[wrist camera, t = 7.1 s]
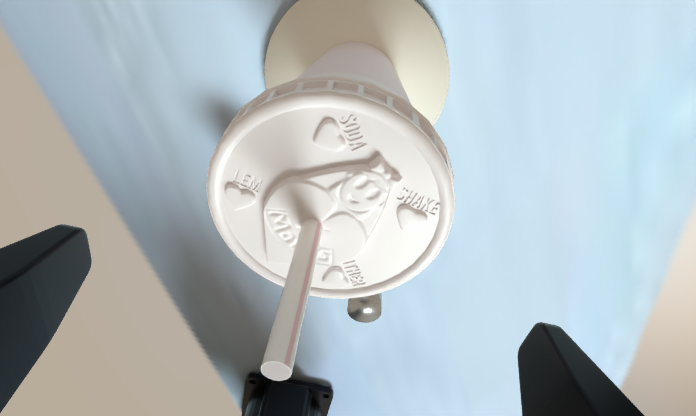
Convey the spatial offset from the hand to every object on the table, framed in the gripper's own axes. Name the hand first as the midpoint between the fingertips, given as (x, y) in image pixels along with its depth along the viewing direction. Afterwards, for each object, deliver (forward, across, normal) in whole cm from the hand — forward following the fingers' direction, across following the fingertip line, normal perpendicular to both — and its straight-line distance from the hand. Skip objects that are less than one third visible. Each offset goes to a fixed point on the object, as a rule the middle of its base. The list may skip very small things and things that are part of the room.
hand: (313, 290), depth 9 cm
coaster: (+13, 0, 0) cm, 13 cm away
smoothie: (+13, 0, 0) cm, 13 cm away
